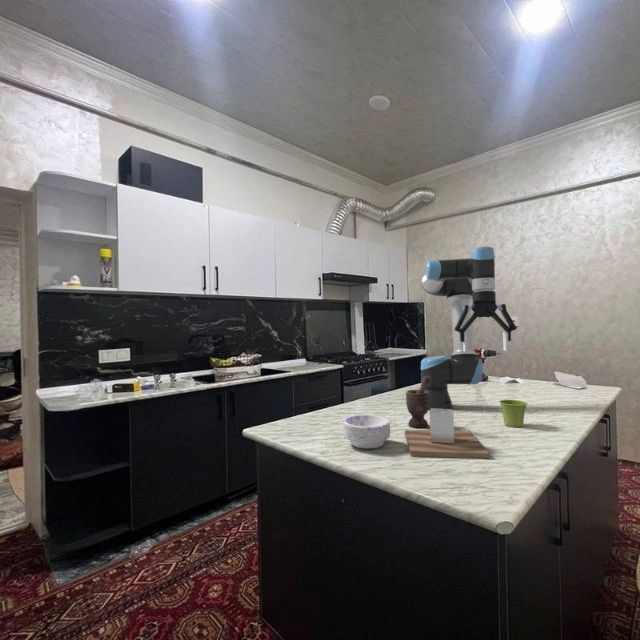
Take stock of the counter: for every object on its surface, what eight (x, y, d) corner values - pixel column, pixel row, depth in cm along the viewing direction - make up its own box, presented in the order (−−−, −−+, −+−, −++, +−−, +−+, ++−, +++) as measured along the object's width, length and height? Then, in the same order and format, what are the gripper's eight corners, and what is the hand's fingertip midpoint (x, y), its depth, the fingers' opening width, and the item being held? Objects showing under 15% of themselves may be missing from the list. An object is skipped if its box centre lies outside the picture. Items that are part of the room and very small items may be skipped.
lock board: (404, 434, 130) (404, 429, 130) (470, 435, 127) (469, 430, 127) (410, 456, 109) (410, 450, 109) (489, 458, 105) (489, 452, 105)
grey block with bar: (454, 443, 113) (453, 414, 114) (430, 441, 116) (429, 413, 116) (453, 433, 124) (452, 406, 124) (431, 432, 126) (431, 405, 126)
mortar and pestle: (441, 427, 138) (440, 373, 138) (428, 432, 132) (426, 376, 132) (415, 421, 146) (414, 371, 147) (402, 426, 141) (400, 373, 141)
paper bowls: (379, 455, 110) (378, 428, 110) (335, 447, 118) (334, 422, 118) (397, 441, 123) (396, 417, 123) (356, 434, 131) (355, 412, 131)
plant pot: (526, 423, 140) (526, 400, 141) (529, 430, 132) (528, 405, 132) (499, 421, 144) (498, 399, 144) (500, 427, 136) (499, 403, 136)
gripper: (449, 291, 129) (450, 352, 129) (525, 288, 125) (527, 351, 125) (445, 293, 136) (446, 350, 136) (517, 290, 132) (519, 349, 132)
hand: (485, 351), depth 130 cm, fingers open, 13 cm apart
